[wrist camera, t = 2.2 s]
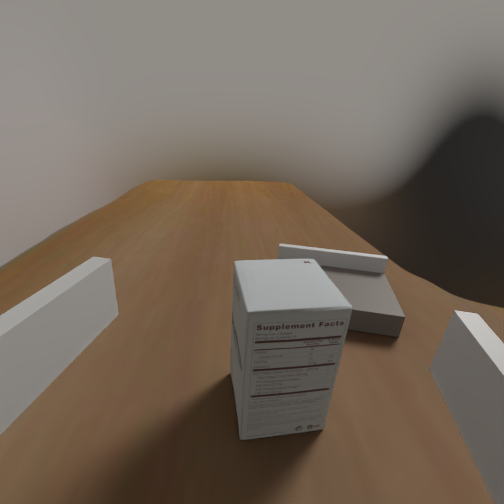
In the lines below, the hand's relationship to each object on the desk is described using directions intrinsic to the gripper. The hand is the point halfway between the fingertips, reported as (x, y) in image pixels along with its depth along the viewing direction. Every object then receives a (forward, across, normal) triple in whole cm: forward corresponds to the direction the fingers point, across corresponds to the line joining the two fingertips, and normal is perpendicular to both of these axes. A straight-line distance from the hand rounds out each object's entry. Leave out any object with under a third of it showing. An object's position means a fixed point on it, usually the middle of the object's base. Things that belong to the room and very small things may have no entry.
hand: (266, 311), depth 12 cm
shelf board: (+28, +7, -16) cm, 33 cm away
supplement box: (+10, +1, -17) cm, 19 cm away
